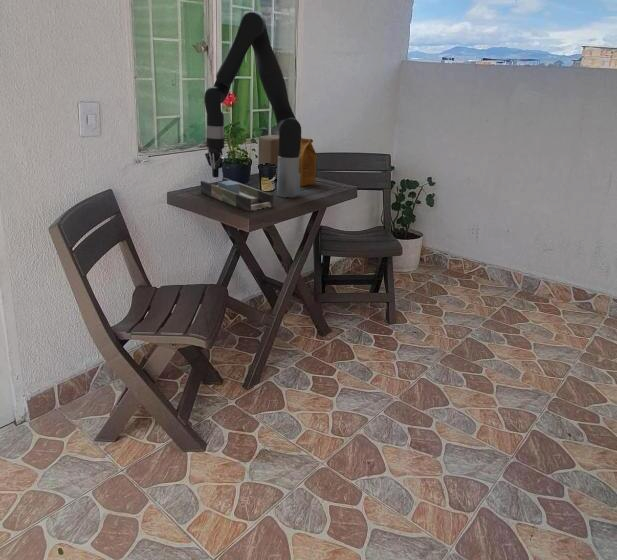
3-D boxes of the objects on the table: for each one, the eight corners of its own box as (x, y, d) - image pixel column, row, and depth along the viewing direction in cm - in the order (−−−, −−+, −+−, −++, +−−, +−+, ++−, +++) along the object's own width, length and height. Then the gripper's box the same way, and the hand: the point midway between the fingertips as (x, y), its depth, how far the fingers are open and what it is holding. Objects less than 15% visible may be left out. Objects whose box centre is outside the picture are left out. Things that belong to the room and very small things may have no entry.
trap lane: (224, 188, 251) (224, 177, 249) (273, 206, 227) (273, 194, 225) (200, 192, 243) (200, 181, 241) (248, 211, 219) (248, 199, 217)
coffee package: (304, 180, 274) (306, 134, 265) (317, 186, 264) (320, 138, 255) (286, 181, 269) (288, 135, 260) (299, 187, 259) (301, 139, 250)
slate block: (230, 189, 242) (229, 180, 240) (239, 192, 237) (239, 183, 236) (218, 191, 238) (218, 182, 236) (227, 194, 233) (227, 185, 232)
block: (257, 177, 275) (257, 136, 267) (272, 174, 281) (273, 134, 273) (270, 181, 268) (271, 139, 260) (286, 178, 275) (287, 137, 267)
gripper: (231, 138, 233) (231, 179, 240) (214, 133, 242) (214, 173, 249) (216, 139, 228) (216, 181, 235) (199, 134, 237) (199, 174, 244)
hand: (215, 177), depth 242 cm, fingers closed
